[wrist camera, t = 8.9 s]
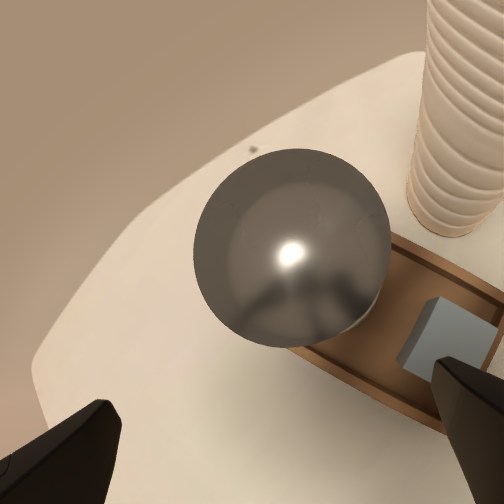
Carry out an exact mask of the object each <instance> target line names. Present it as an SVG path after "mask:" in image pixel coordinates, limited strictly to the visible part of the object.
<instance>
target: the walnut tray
mask: <svg viewBox="0 0 504 504" xmlns="http://www.w3.org/2000/svg"><path fill="white" fill-rule="evenodd" d="M439 296H441V297H443V298H445V299H447V300H449V301H450V302H452V303H454V304H456V305H458V306H459V307H461V308H463V309H465V310H467V311H468V312H470V313H472V314H474V315H475V316H477V317H479V318H481V319H482V320H484V321H486V322H488V323H489V324H491V325H493V326H495V327H496V328H498V329H499V330H498V332H497V334H496V337H495V339H494V341H493V343H492V346H491V348H490V350H489V352H488V354H487V356H486V358H485V360H484V362H483V364H482V366H481V368H480V370H483V371H485V372H486V370H487V368H488V366H489V364H490V362H491V360H492V358H493V356H494V354H495V352H496V350H497V348H498V345H499V343H500V341H501V339H502V336H503V334H504V292H502V291H500V290H499V289H497V288H495V287H494V286H492V285H490V284H489V283H487V282H485V281H483V280H482V279H480V278H478V277H477V276H475V275H473V274H471V273H469V272H468V271H466V270H464V269H462V268H460V267H459V266H457V265H455V264H453V263H451V262H450V261H448V260H446V259H444V258H442V257H440V256H438V255H436V254H435V253H433V252H431V251H429V250H427V249H425V248H423V247H421V246H419V245H417V244H415V243H413V242H411V241H409V240H407V239H405V238H403V237H401V236H399V235H397V234H395V233H393V232H391V254H390V262H389V266H388V270H387V273H386V277H385V279H384V282H383V285H382V287H381V290H380V293H379V295H378V298H377V300H376V303H375V305H374V308H373V310H372V312H371V313H370V315H369V316H368V318H367V319H366V320H365V321H364V322H363V323H361V324H360V325H359V326H357V327H355V328H353V329H351V330H349V331H346V332H344V333H342V334H339V335H337V336H334V337H332V338H330V339H327V340H324V341H321V342H319V343H316V344H313V345H308V346H302V347H293V348H287V349H289V350H291V351H292V352H294V353H296V354H297V355H299V356H301V357H302V358H304V359H306V360H307V361H309V362H311V363H312V364H314V365H316V366H317V367H319V368H321V369H322V370H324V371H326V372H328V373H329V374H331V375H333V376H335V377H336V378H338V379H340V380H342V381H343V382H345V383H347V384H349V385H350V386H352V387H354V388H356V389H358V390H359V391H361V392H363V393H365V394H367V395H369V396H370V397H372V398H374V399H376V400H378V401H380V402H381V403H383V404H385V405H387V406H389V407H391V408H393V409H395V410H397V411H399V412H400V413H402V414H404V415H406V416H408V417H410V418H412V419H414V420H416V421H418V422H420V423H422V424H424V425H426V426H428V427H430V428H432V429H434V430H436V431H438V432H440V433H442V434H445V435H447V434H446V431H445V428H444V425H443V422H442V419H441V416H440V413H439V410H438V407H437V404H436V402H435V399H434V396H433V393H432V390H431V383H430V382H428V381H426V380H424V379H423V378H421V377H419V376H417V375H415V374H413V373H411V372H409V371H408V370H406V369H404V368H402V366H401V365H400V364H399V362H398V361H397V360H396V358H397V356H398V355H399V353H400V351H401V349H402V348H403V346H404V344H405V342H406V340H407V338H408V337H409V335H410V333H411V331H412V329H413V327H414V325H415V323H416V321H417V319H418V317H419V315H420V313H421V311H422V309H423V307H424V305H425V303H426V301H429V300H431V299H434V298H436V297H439Z"/></svg>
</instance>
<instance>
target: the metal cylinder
mask: <svg viewBox="0 0 504 504" xmlns="http://www.w3.org/2000/svg"><path fill="white" fill-rule="evenodd" d="M390 254H391V231H390V225H389V219H388V216H387V213H386V210H385V207H384V205H383V203H382V200H381V198H380V196H379V194H378V193H377V191H376V190H375V188H374V187H373V186H372V184H371V183H370V182H369V181H368V180H367V178H366V177H365V176H364V175H363V174H362V173H361V172H359V171H358V170H357V169H356V168H355V167H353V166H352V165H350V164H349V163H347V162H345V161H344V160H342V159H340V158H338V157H336V156H333V155H331V154H328V153H324V152H321V151H316V150H310V149H286V150H280V151H275V152H271V153H268V154H265V155H262V156H259V157H257V158H255V159H253V160H251V161H249V162H247V163H246V164H244V165H242V166H241V167H239V168H238V169H237V170H235V171H234V172H233V173H231V174H230V175H229V176H228V177H227V178H226V179H225V180H224V181H223V182H222V183H221V184H220V185H219V187H218V188H217V189H216V190H215V191H214V193H213V194H212V196H211V197H210V199H209V200H208V202H207V204H206V206H205V208H204V210H203V212H202V214H201V217H200V220H199V222H198V225H197V229H196V234H195V239H194V248H193V260H194V269H195V274H196V278H197V282H198V285H199V288H200V291H201V293H202V295H203V297H204V299H205V301H206V303H207V305H208V306H209V308H210V309H211V310H212V312H213V313H214V314H215V316H216V317H217V318H218V319H219V320H220V321H221V322H222V323H223V324H224V325H225V326H227V327H228V328H229V329H231V330H232V331H233V332H235V333H236V334H238V335H240V336H242V337H243V338H245V339H247V340H250V341H253V342H255V343H258V344H262V345H266V346H270V347H280V348H293V347H302V346H308V345H313V344H316V343H319V342H321V341H324V340H327V339H330V338H332V337H334V336H337V335H339V334H342V333H344V332H346V331H349V330H351V329H353V328H355V327H357V326H359V325H360V324H361V323H363V322H364V321H365V320H366V319H367V318H368V316H369V315H370V313H371V312H372V310H373V308H374V305H375V303H376V300H377V298H378V295H379V293H380V290H381V287H382V285H383V282H384V279H385V277H386V273H387V270H388V266H389V262H390Z"/></svg>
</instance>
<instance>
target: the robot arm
mask: <svg viewBox="0 0 504 504" xmlns="http://www.w3.org/2000/svg"><path fill="white" fill-rule="evenodd" d="M431 390H432V393H433V396H434V399H435V402H436V404H437V407H438V410H439V413H440V416H441V419H442V422H443V425H444V428H445V431H446V434H447V436H448V439H449V441H450V443H451V445H452V448H453V450H454V452H455V454H456V457H457V459H458V461H459V464H460V466H461V468H462V471H463V473H464V475H465V478H466V480H467V483H468V485H469V488H470V490H471V493H472V495H473V498H474V501H475V503H476V504H504V380H503V379H501V378H498V377H496V376H494V375H492V374H489V373H487V372H485V371H483V370H480V369H478V368H476V367H474V366H471V365H469V364H467V363H465V362H462V361H460V360H458V359H456V358H453V357H451V356H446V357H442V358H439V359H437V360H436V361H435V363H434V367H433V373H432V379H431ZM121 428H122V422H121V419H120V417H119V415H118V413H117V412H116V410H115V408H114V406H113V405H112V403H111V402H110V401H109V400H104V399H97V400H95V401H93V402H92V403H90V404H89V405H87V406H86V407H84V408H82V409H81V410H79V411H78V412H76V413H75V414H73V415H72V416H70V417H69V418H67V419H66V420H64V421H62V422H61V423H59V424H58V425H56V426H55V427H53V428H52V429H50V430H48V431H47V432H45V433H44V434H42V435H41V436H39V437H37V438H36V439H35V440H33V441H31V442H29V443H28V444H26V445H25V446H23V447H21V448H20V449H18V450H16V451H15V452H13V453H12V454H10V455H8V456H7V457H5V458H3V459H2V460H0V504H104V503H105V499H106V496H107V492H108V488H109V485H110V481H111V478H112V474H113V470H114V466H115V461H116V455H117V450H118V444H119V439H120V433H121Z"/></svg>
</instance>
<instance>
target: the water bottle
mask: <svg viewBox="0 0 504 504" xmlns="http://www.w3.org/2000/svg"><path fill="white" fill-rule="evenodd" d="M427 7H428V9H427V31H426V37H427V41H426V57H425V64H424V71H423V81H422V96H421V101H420V110H419V118H418V124H417V133H416V138H415V143H414V152H413V156H412V160H411V167H410V170H409V175H408V180H407V198H408V202H409V205H410V207H411V210H412V212H413V213H414V214H415V215H416V217H417V219H418V220H419V221H420V223H421V224H422V225H424V226H425V227H426V228H427V229H429V230H430V231H432V232H434V233H438V234H439V235H442V236H446V237H458V236H461V235H465V234H467V233H469V232H471V231H472V230H474V229H475V228H476V227H477V226H478V225H479V224H480V223H481V222H482V221H483V220H484V219H485V217H486V216H487V215H488V214H489V213H490V212H491V211H492V210H493V209H494V208H495V206H496V205H497V204H498V203H499V202H500V201H501V200H502V199H503V198H504V0H427Z"/></svg>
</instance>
